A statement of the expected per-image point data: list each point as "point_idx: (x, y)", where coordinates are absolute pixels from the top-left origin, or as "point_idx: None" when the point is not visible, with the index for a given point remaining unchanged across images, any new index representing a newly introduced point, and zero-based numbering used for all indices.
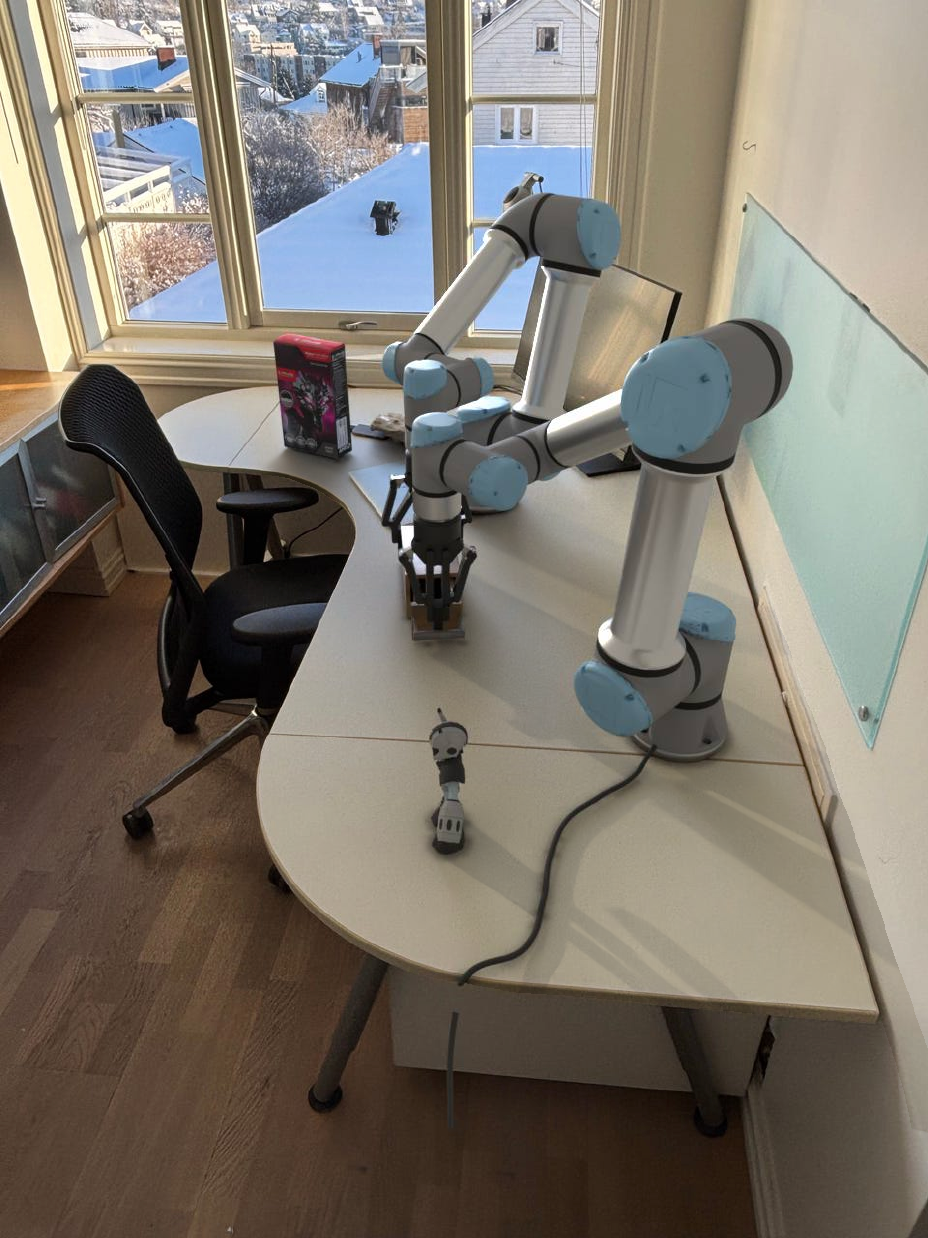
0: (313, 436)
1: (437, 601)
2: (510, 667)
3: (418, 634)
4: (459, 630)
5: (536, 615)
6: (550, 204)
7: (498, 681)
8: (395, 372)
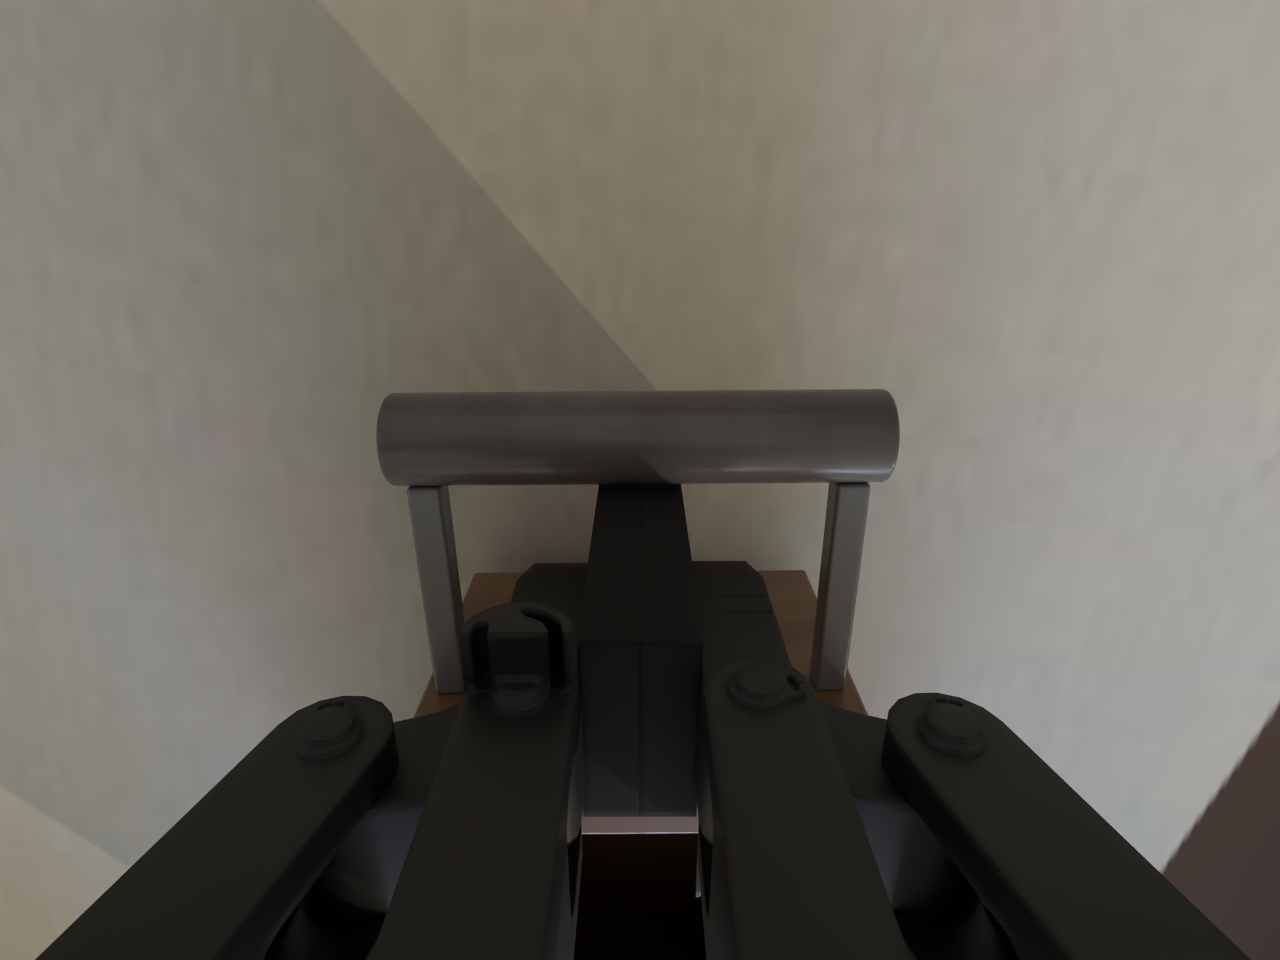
0: None
1: (640, 773)
2: (133, 261)
3: (849, 419)
4: (429, 446)
5: (49, 764)
6: None
7: (202, 83)
8: None
